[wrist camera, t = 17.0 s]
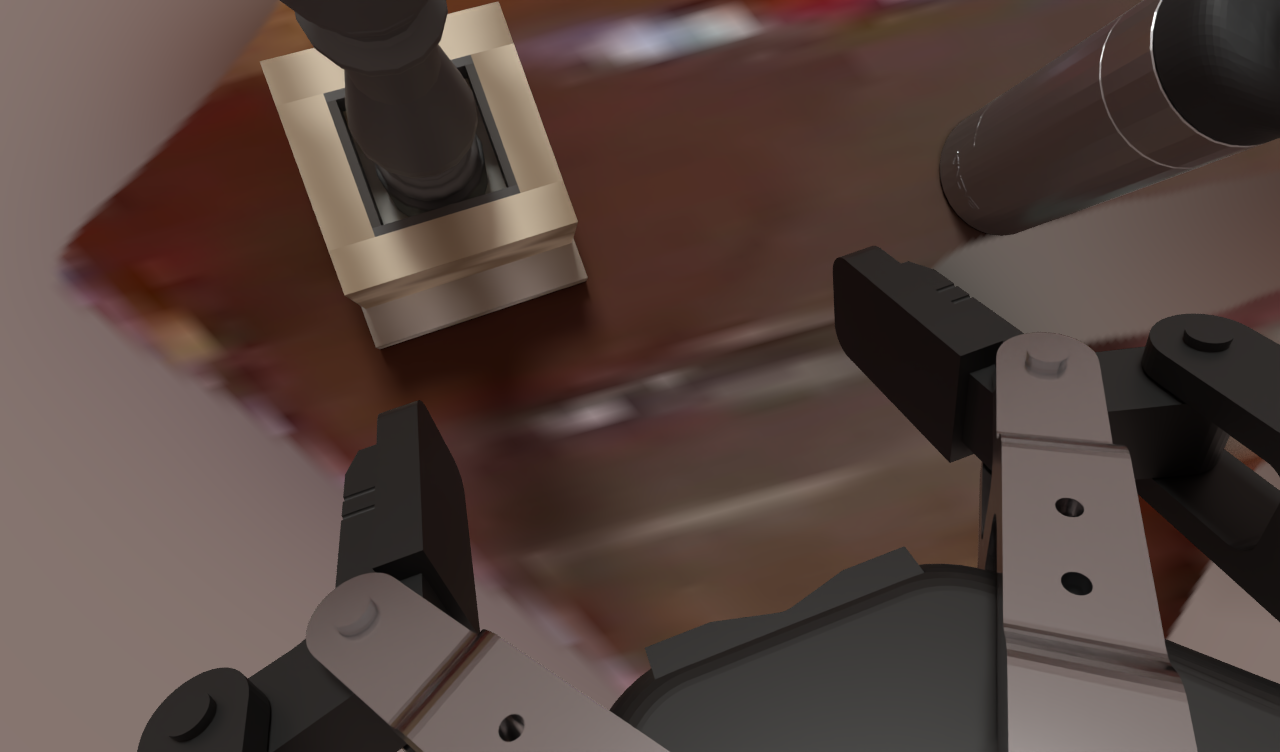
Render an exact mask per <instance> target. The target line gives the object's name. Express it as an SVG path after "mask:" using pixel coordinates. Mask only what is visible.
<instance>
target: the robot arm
mask: <svg viewBox="0 0 1280 752" xmlns="http://www.w3.org/2000/svg"><path fill="white" fill-rule="evenodd" d="M1277 138H1280V0H1143V1H1142V2H1140V3H1139V4H1137V5H1136V6H1134V7H1133V8H1132V9H1130V10H1129V11H1127V12H1126V13H1124V14H1123V15H1121V16H1120V17H1118V18H1117V19H1115V20H1114V21H1112V22H1111V23H1109V24H1108V25H1106V26H1105V27H1103V28H1102V29H1100V30H1099V31H1097V32H1095V33H1094V34H1092V35H1091V36H1089V37H1088V38H1086V39H1085V40H1083V41H1082V42H1080V43H1079V44H1077V45H1076V46H1074V47H1073V48H1071V49H1070V50H1068V51H1067V52H1065V53H1064V54H1062V55H1061V56H1059V57H1058V58H1056V59H1055V60H1053V61H1052V62H1050V63H1049V64H1047V65H1046V66H1044V67H1043V68H1041V69H1040V70H1038V71H1037V72H1035V73H1034V74H1032V75H1031V76H1029V77H1028V78H1026V79H1025V80H1023V81H1022V82H1020V83H1019V84H1017V85H1016V86H1014V87H1013V88H1011V89H1010V90H1008V91H1007V92H1005V93H1004V94H1002V95H1000V96H999V97H997V98H996V99H994V100H993V101H991V102H990V103H988V104H987V105H985V106H984V107H982V108H981V109H979V110H978V111H976V112H975V113H973V114H972V115H970V116H969V117H967V118H966V119H964V120H963V121H961V122H960V123H959V124H958V125H957V126H956V127H955V128H954V129H953V130H952V132H951V133H950V135H949V136H948V138H947V140H946V142H945V144H944V147H943V150H942V153H941V160H940V178H941V182H942V186H943V190H944V193H945V195H946V197H947V199H948V202H949V204H950V205H951V206H952V208H953V209H954V211H955V212H956V213H957V215H958V216H959V217H961V218H962V219H963V220H964V221H965V222H966V223H967V224H969V225H970V226H972V227H974V228H975V229H977V230H979V231H982V232H985V233H988V234H992V235H1001V236H1002V235H1011V234H1015V233H1018V232H1021V231H1024V230H1027V229H1029V228H1032V227H1035V226H1038V225H1041V224H1043V223H1046V222H1049V221H1052V220H1055V219H1058V218H1061V217H1064V216H1066V215H1069V214H1072V213H1075V212H1077V211H1080V210H1083V209H1086V208H1088V207H1091V206H1094V205H1097V204H1099V203H1102V202H1105V201H1108V200H1111V199H1113V198H1116V197H1119V196H1122V195H1124V194H1127V193H1130V192H1133V191H1135V190H1138V189H1141V188H1144V187H1146V186H1149V185H1152V184H1155V183H1157V182H1160V181H1163V180H1166V179H1168V178H1171V177H1174V176H1177V175H1179V174H1182V173H1185V172H1188V171H1190V170H1193V169H1196V168H1199V167H1201V166H1204V165H1206V164H1209V163H1212V162H1214V161H1217V160H1220V159H1223V158H1225V157H1228V156H1231V155H1234V154H1236V153H1239V152H1242V151H1245V150H1247V149H1250V148H1253V147H1256V146H1258V145H1261V144H1264V143H1267V142H1269V141H1272V140H1275V139H1277ZM833 288H834V313H835V329H836V334H837V337H838V340H839V342H840V345H841V347H842V349H843V350H844V352H845V353H846V355H847V356H848V357H849V358H850V359H851V360H852V361H853V362H854V363H855V364H856V365H857V366H858V367H859V369H860V370H861V371H862V372H863V373H864V374H865V375H866V376H867V377H868V378H869V379H870V380H871V381H872V382H873V383H874V384H875V385H876V386H877V387H878V388H879V389H880V390H881V392H882V393H883V394H884V395H885V396H886V397H887V398H888V399H889V400H890V401H891V402H892V403H893V404H894V405H895V406H896V407H897V408H898V409H899V410H900V411H901V412H902V413H903V414H904V416H905V417H906V418H907V419H908V420H909V421H910V422H911V423H912V424H913V425H914V426H915V427H916V428H917V429H918V430H919V431H920V432H921V433H922V434H923V435H924V436H925V437H926V438H927V440H928V441H929V442H930V443H931V444H932V445H933V446H934V447H935V448H936V449H937V450H938V451H939V452H940V453H941V454H942V455H943V456H944V457H945V458H946V459H947V460H948V461H949V462H950V463H951V462H954V461H956V460H959V459H962V458H964V457H967V456H969V455H972V454H975V455H976V456H977V457H978V458H979V459H980V460H981V461H982V463H981V470H980V494H979V544H978V567H977V568H974V567H968V566H963V565H952V564H923V565H918V563H917V562H916V561H915V560H914V558H913V557H912V556H911V554H910V553H909V552H908V550H907V549H906V548H905V547H902V548H899V549H897V550H894V551H891V552H889V553H886V554H884V555H881V556H879V557H876V558H874V559H871V560H868V561H866V562H863V563H861V564H858V565H856V566H853V567H850V568H848V569H845V570H843V571H841V572H840V573H839V574H837V575H836V576H834V577H833V578H832V579H830V580H829V581H828V582H826V583H825V584H823V585H822V586H821V587H819V588H818V589H817V590H815V591H814V592H812V593H811V594H810V595H808V596H807V597H806V598H804V599H803V600H801V601H800V602H799V603H797V604H796V605H795V606H793V607H792V608H790V609H788V610H786V611H784V612H780V613H774V614H767V615H760V616H752V617H745V618H738V619H730V620H723V621H716V622H710V623H707V624H705V625H702V626H700V627H697V628H694V629H692V630H689V631H687V632H684V633H682V634H679V635H677V636H674V637H671V638H669V639H666V640H664V641H661V642H659V643H656V644H654V645H651V646H648V647H646V648H645V650H646V653H647V656H648V659H649V662H650V665H651V669H650V670H649V671H647V672H646V673H645V674H643V675H642V676H641V677H639V678H638V679H637V680H636V681H635V682H634V683H633V684H632V685H631V686H630V687H629V688H627V689H626V690H625V692H624V693H623V694H622V695H621V696H620V697H619V698H618V700H617V701H616V702H615V703H614V705H613V706H612V707H611V709H610V710H607V709H606V708H604V707H603V706H602V705H600V704H599V703H597V702H596V701H594V700H593V699H591V698H590V697H588V696H587V695H585V694H584V693H582V692H581V691H579V690H578V689H576V688H575V687H574V686H572V685H571V684H569V683H568V682H566V681H565V680H563V679H562V678H560V677H559V676H557V675H556V674H554V673H553V672H551V671H550V670H548V669H547V668H545V667H544V666H542V665H541V664H540V663H538V662H536V661H535V660H534V659H532V658H531V657H529V656H528V655H526V654H525V653H523V652H522V651H520V650H519V649H517V648H516V647H514V646H513V645H511V644H510V643H508V642H507V641H505V640H504V639H503V638H501V637H499V636H498V635H496V634H495V633H492V632H491V631H488V630H485V629H483V630H482V631H481V632H480V628H479V619H478V610H477V601H476V592H475V583H474V574H473V565H472V556H471V547H470V538H469V529H468V520H467V512H466V503H465V494H464V488H463V483H462V479H461V476H460V473H459V470H458V468H457V465H456V463H455V461H454V459H453V457H452V455H451V453H450V451H449V449H448V447H447V445H446V444H445V442H444V440H443V438H442V436H441V434H440V432H439V430H438V429H437V427H436V425H435V423H434V421H433V419H432V417H431V415H430V414H429V412H428V410H427V408H426V406H425V405H424V404H423V402H422V401H420V400H418V401H415V402H413V403H410V404H407V405H404V406H401V407H398V408H395V409H392V410H389V411H386V412H383V413H380V414H379V415H378V420H377V445H374V446H371V447H368V448H365V449H362V450H359V451H358V453H357V455H356V456H355V458H354V460H353V462H352V464H351V465H350V467H349V469H348V471H347V472H346V474H345V484H344V495H343V498H344V500H345V501H344V502H343V507H342V517H343V520H342V521H341V530H340V542H339V553H338V565H337V576H336V588H335V589H334V590H333V591H332V592H330V593H329V594H328V595H327V596H326V597H325V598H324V599H323V600H322V602H321V603H320V604H319V605H318V607H317V608H316V609H315V611H314V613H313V614H312V616H311V619H310V621H309V623H308V626H307V630H306V639H305V640H303V641H302V642H301V643H300V644H299V645H297V646H296V647H295V648H293V649H292V650H291V651H289V652H288V653H286V654H285V655H283V656H282V657H280V658H278V659H277V660H275V661H274V662H272V663H271V664H269V665H268V666H266V667H265V668H263V669H262V670H260V671H259V672H257V673H256V674H254V675H253V676H251V677H250V678H248V679H247V678H246V677H245V676H244V675H243V674H242V673H241V672H240V671H238V670H236V669H232V668H217V669H212V670H209V671H206V672H203V673H201V674H199V675H197V676H195V677H193V678H192V679H190V680H188V681H187V682H185V683H184V684H182V685H181V686H180V687H178V689H176V690H175V691H174V692H173V693H171V694H170V695H169V696H168V697H167V698H166V699H165V700H164V702H163V703H162V704H161V705H160V706H159V707H158V708H157V710H156V711H155V712H154V714H153V715H152V717H151V718H150V720H149V721H148V723H147V725H146V727H145V729H144V731H143V733H142V736H141V739H140V743H139V746H138V750H137V752H397V751H398V750H400V749H401V748H402V749H403V750H404V751H405V752H1280V684H1278V683H1276V682H1273V681H1270V680H1268V679H1265V678H1263V677H1260V676H1258V675H1255V674H1252V673H1250V672H1248V671H1245V670H1243V669H1240V668H1237V667H1235V666H1232V665H1230V664H1227V663H1225V662H1222V661H1220V660H1217V659H1214V658H1212V657H1209V656H1207V655H1204V654H1202V653H1199V652H1197V651H1194V650H1192V649H1189V648H1187V647H1184V646H1181V645H1179V644H1176V643H1174V642H1171V641H1169V640H1166V639H1164V635H1163V629H1162V624H1161V619H1160V613H1159V608H1158V602H1157V597H1156V592H1155V586H1154V581H1153V575H1152V570H1151V565H1150V559H1149V554H1148V548H1147V543H1146V538H1145V532H1144V527H1143V521H1142V516H1141V511H1140V505H1139V500H1138V494H1139V495H1140V496H1141V497H1142V498H1143V499H1144V500H1145V501H1146V502H1147V503H1148V504H1150V505H1151V506H1152V507H1153V508H1154V509H1155V510H1156V511H1157V512H1158V513H1160V514H1161V515H1162V516H1163V517H1164V518H1165V519H1166V520H1167V521H1168V522H1169V523H1171V524H1172V525H1173V526H1174V527H1175V528H1176V529H1177V530H1178V531H1179V532H1181V533H1182V534H1183V535H1184V536H1185V537H1186V538H1187V539H1188V540H1189V541H1191V542H1192V543H1193V544H1194V545H1195V546H1196V547H1197V548H1198V549H1199V550H1200V551H1202V552H1203V553H1204V554H1205V555H1206V556H1207V557H1208V558H1209V559H1210V560H1212V561H1213V562H1214V563H1215V564H1216V565H1217V566H1218V567H1219V568H1220V569H1222V570H1223V571H1224V572H1225V573H1226V574H1227V575H1228V576H1229V577H1230V578H1232V579H1233V580H1234V581H1235V582H1236V583H1237V584H1238V585H1239V586H1240V587H1242V588H1243V589H1244V590H1245V591H1246V592H1247V593H1248V594H1249V595H1250V596H1251V597H1253V598H1254V599H1255V600H1256V601H1257V602H1258V603H1259V604H1260V605H1261V606H1262V607H1264V608H1265V609H1266V610H1267V611H1268V612H1269V613H1270V614H1271V615H1272V616H1274V617H1275V618H1276V619H1277V620H1278V621H1279V622H1280V490H1278V489H1277V488H1275V487H1274V486H1273V485H1271V484H1270V483H1269V482H1267V481H1266V480H1265V479H1263V478H1262V477H1261V476H1259V475H1258V474H1257V473H1255V472H1254V471H1253V470H1251V469H1250V468H1249V467H1247V466H1246V465H1245V464H1243V463H1242V462H1241V461H1239V460H1238V459H1237V458H1235V457H1234V456H1233V455H1231V454H1230V453H1229V452H1227V451H1226V450H1225V449H1224V447H1225V445H1226V443H1227V441H1228V438H1229V436H1232V437H1233V438H1234V439H1236V440H1237V441H1239V442H1240V443H1241V444H1243V445H1244V446H1246V447H1247V448H1248V449H1250V450H1251V451H1252V452H1254V453H1255V454H1257V455H1258V456H1259V457H1261V458H1262V459H1264V460H1265V461H1266V462H1267V463H1269V464H1270V465H1271V466H1272V467H1273V468H1274V469H1275V471H1276V472H1277V473H1278V475H1279V476H1280V345H1279V344H1277V343H1275V342H1274V341H1272V340H1270V339H1268V338H1267V337H1265V336H1263V335H1261V334H1260V333H1258V332H1256V331H1254V330H1253V329H1251V328H1249V327H1247V326H1245V325H1243V324H1241V323H1239V322H1236V321H1233V320H1230V319H1227V318H1223V317H1219V316H1214V315H1206V314H1181V315H1175V316H1171V317H1167V318H1165V319H1162V320H1160V321H1159V322H1157V323H1156V324H1155V325H1154V326H1153V327H1152V329H1151V330H1150V333H1149V337H1148V340H1147V343H1146V347H1138V348H1129V349H1121V350H1112V351H1103V352H1094V351H1093V350H1092V349H1091V348H1090V347H1089V346H1087V345H1086V344H1084V343H1082V342H1081V341H1079V340H1077V339H1074V338H1071V337H1068V336H1065V335H1061V334H1056V333H1047V332H1034V333H1026V334H1024V333H1022V332H1021V331H1020V330H1018V329H1017V328H1016V327H1014V326H1013V325H1011V324H1010V323H1009V322H1007V321H1006V320H1004V319H1003V318H1001V317H1000V316H999V315H997V314H996V313H995V312H993V311H992V310H990V309H989V308H987V307H986V306H985V305H983V304H982V303H981V302H979V301H978V300H976V299H975V298H973V297H972V298H970V296H969V294H968V293H967V292H965V291H964V290H962V289H961V288H959V287H958V286H956V287H955V286H954V283H953V282H951V281H950V280H948V279H947V278H945V277H944V276H943V275H941V274H940V273H939V272H937V271H936V270H934V269H931V268H928V267H924V266H921V265H918V264H915V263H912V262H909V261H908V262H905V263H902V264H901V263H899V262H898V261H897V260H895V259H894V258H893V257H891V256H890V255H889V254H887V253H886V252H885V251H883V250H882V249H881V248H879V247H877V246H871V247H868V248H865V249H862V250H860V251H857V252H854V253H851V254H848V255H845V256H842V257H839V258H837V259H836V260H835V261H834V264H833Z"/></svg>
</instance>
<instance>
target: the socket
mask: <svg viewBox="0 0 1280 752" xmlns="http://www.w3.org/2000/svg"><path fill="white" fill-rule="evenodd" d="M439 46H440V47H441V48H442V50H443V51H444V52H445V54H446V55H447V56H448V57H449V59H450V60H451V61H452V63H453V64H454V65H455V66H456V68H457V69H458V70H459V71H460V73H461V75H462V76H463V78H464V79H465V81H466V83H467V84H468V86H469V87H470V89H471V91H472V92H473V95H474V101H475V107H476V113H477V119H478V124H477V128H476V132H475V133H476V135H477V136H478V138H479V139H480V141H481V143H482V148H483V154H484V159H485V165H486V172H487V178H488V183H487V188H486V192H485V195H481V196H478V197H475V198H471V199H468V200H465V201H461V202H458V203H455V204H451V205H448V206H445V207H441V208H438V209H435V210H431V211H428V212H425V213H421V214H418V215H415V216H411V217H408V216H406V215H405V214H403V213H402V212H401V211H399V210H398V208H397V207H396V205H395V204H394V202H393V200H392V199H391V197H390V196H389V194H388V193H387V191H386V189H385V188H384V186H383V185H382V183H381V181H380V180H379V178H378V176H377V173H376V167H375V162H374V161H372V160H371V159H369V158H368V157H367V156H366V155H365V154H364V152H363V151H362V149H361V147H360V146H359V144H358V143H357V141H356V140H355V138H354V136H353V135H352V133H351V132H350V130H349V125H348V119H347V113H346V107H345V77H344V69H342V68H340V67H339V66H337V65H336V64H335V63H333V62H332V61H331V60H329V59H328V58H327V57H325V56H324V55H322V54H321V53H320V52H318V51H317V50H316V49H315V48H312V49H308V50H304V51H300V52H296V53H292V54H288V55H284V56H280V57H276V58H272V59H268V60H264V61H260V63H261V66H262V69H263V72H264V74H265V77H266V80H267V83H268V85H269V88H270V91H271V94H272V96H273V99H274V102H275V105H276V107H277V110H278V113H279V116H280V118H281V121H282V124H283V127H284V129H285V132H286V135H287V138H288V140H289V143H290V146H291V149H292V152H293V154H294V157H295V160H296V163H297V165H298V168H299V171H300V174H301V176H302V179H303V182H304V185H305V187H306V190H307V193H308V196H309V198H310V201H311V204H312V207H313V209H314V212H315V215H316V218H317V220H318V223H319V226H320V229H321V231H322V234H323V237H324V240H325V242H326V245H327V248H328V251H329V253H330V256H331V259H332V262H333V264H334V267H335V270H336V273H337V275H338V278H339V281H340V284H341V286H342V289H343V292H344V295H345V296H347V297H348V298H350V299H351V300H353V301H354V302H356V303H357V304H359V305H360V306H361V307H362V310H363V313H364V316H365V319H366V321H367V324H368V327H369V330H370V332H371V335H372V338H373V341H374V343H375V346H376V348H378V349H382V348H385V347H388V346H391V345H394V344H398V343H401V342H404V341H407V340H410V339H413V338H416V337H419V336H422V335H425V334H428V333H431V332H434V331H437V330H440V329H443V328H446V327H449V326H452V325H455V324H458V323H461V322H464V321H467V320H470V319H473V318H476V317H479V316H482V315H485V314H488V313H491V312H494V311H497V310H500V309H503V308H506V307H509V306H512V305H515V304H518V303H521V302H524V301H527V300H530V299H533V298H536V297H539V296H542V295H545V294H548V293H551V292H554V291H557V290H560V289H564V288H567V287H570V286H573V285H576V284H579V283H582V282H585V281H586V280H587V278H588V277H587V275H586V272H585V269H584V266H583V264H582V261H581V258H580V255H579V252H578V250H577V247H576V244H575V241H574V239H573V237H574V234H575V230H576V226H577V223H578V221H577V218H576V215H575V213H574V210H573V207H572V204H571V202H570V199H569V196H568V193H567V190H566V188H565V185H564V182H563V179H562V177H561V174H560V171H559V168H558V165H557V163H556V160H555V157H554V154H553V152H552V149H551V146H550V143H549V140H548V138H547V135H546V132H545V129H544V127H543V124H542V121H541V118H540V115H539V113H538V110H537V107H536V104H535V102H534V99H533V96H532V93H531V90H530V88H529V85H528V82H527V79H526V77H525V74H524V71H523V68H522V65H521V63H520V60H519V57H518V54H517V52H516V49H515V46H514V43H513V41H512V38H511V35H510V32H509V29H508V27H507V24H506V21H505V18H504V16H503V13H502V10H501V7H500V4H499V2H495V3H491V4H487V5H483V6H479V7H475V8H471V9H467V10H463V11H459V12H455V13H451V14H447V18H446V22H445V26H444V30H443V34H442V38H441V41H440V42H439Z"/></svg>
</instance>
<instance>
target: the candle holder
mask: <svg viewBox="0 0 1280 752" xmlns="http://www.w3.org/2000/svg"><path fill="white" fill-rule="evenodd" d="M280 1H281V2H283V3H284V4H286V5H287V6H288V7H290V8H291V9H292V10H294V11H295V15H296V20H297V21H298V23H299V24H300V26H301V28H302V29H303V31H304V32H305V34H306V35H307V37H308V39H309V40H310V42H311V43H312V45H313V46H314V48H315V49H316V50H317V51H318V52H320V53H321V54H322V55H324V56H325V57H327V58H328V59H329V60H331V61H332V62H333V63H335V64H336V65H337V66H339V67H340V68H342V69H344V77H345V107H346V113H347V119H348V125H349V130H350V132H351V133H352V135H353V136H354V138H355V140H356V141H357V143H358V144H359V146H360V147H361V149H362V151H363V152H364V154H365V155H366V156H367V157H368V158H369V159H371V160H372V161H374V162H375V167H376V173H377V176H378V178H379V180H380V181H381V183H382V185H383V186H384V188H385V189H386V191H387V193H388V194H389V196H390V197H391V199H392V200H393V202H394V204H395V205H396V207H397V208H398V210H399V211H401V212H402V213H403V214H405V215H406V216H408V217H411V216H415V215H418V214H421V213H425V212H428V211H431V210H435V209H438V208H441V207H445V206H448V205H451V204H455V203H458V202H461V201H465V200H468V199H471V198H475V197H478V196H481V195H485V192H486V188H487V183H488V178H487V172H486V165H485V159H484V154H483V148H482V143H481V141H480V139H479V138H478V136H477V135H476V133H475V132H476V128H477V124H478V119H477V113H476V107H475V101H474V95H473V92H472V91H471V89H470V87H469V86H468V84H467V83H466V81H465V79H464V78H463V76H462V75H461V73H460V71H459V70H458V69H457V68H456V66H455V65H454V64H453V63H452V61H451V60H450V59H449V57H448V56H447V55H446V54H445V52H444V51H443V50H442V48H441V47H440V46H439V42H440V41H441V38H442V34H443V30H444V26H445V22H446V18H447V14H448V10H447V4H446V0H280Z"/></svg>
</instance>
